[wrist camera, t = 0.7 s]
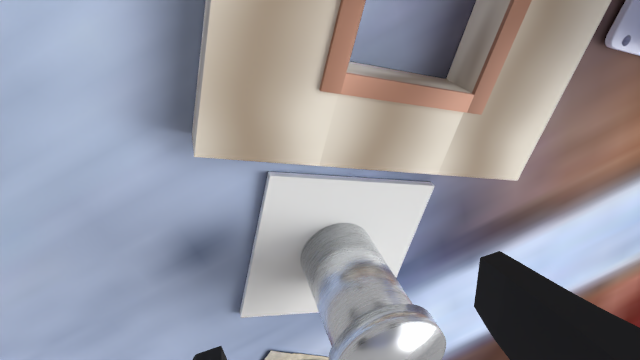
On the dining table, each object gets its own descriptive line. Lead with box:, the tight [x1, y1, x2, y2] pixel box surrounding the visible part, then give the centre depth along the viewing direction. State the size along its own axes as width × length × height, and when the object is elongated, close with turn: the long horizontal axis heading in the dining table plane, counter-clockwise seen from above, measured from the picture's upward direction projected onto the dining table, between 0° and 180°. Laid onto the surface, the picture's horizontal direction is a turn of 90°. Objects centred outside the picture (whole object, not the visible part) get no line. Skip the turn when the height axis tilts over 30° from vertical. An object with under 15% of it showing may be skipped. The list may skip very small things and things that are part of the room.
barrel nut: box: [300, 223, 446, 360], centre depth 20 cm, size 5×5×7 cm
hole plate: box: [192, 0, 612, 181], centre depth 16 cm, size 16×14×2 cm
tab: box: [240, 172, 434, 318], centre depth 23 cm, size 9×9×1 cm
